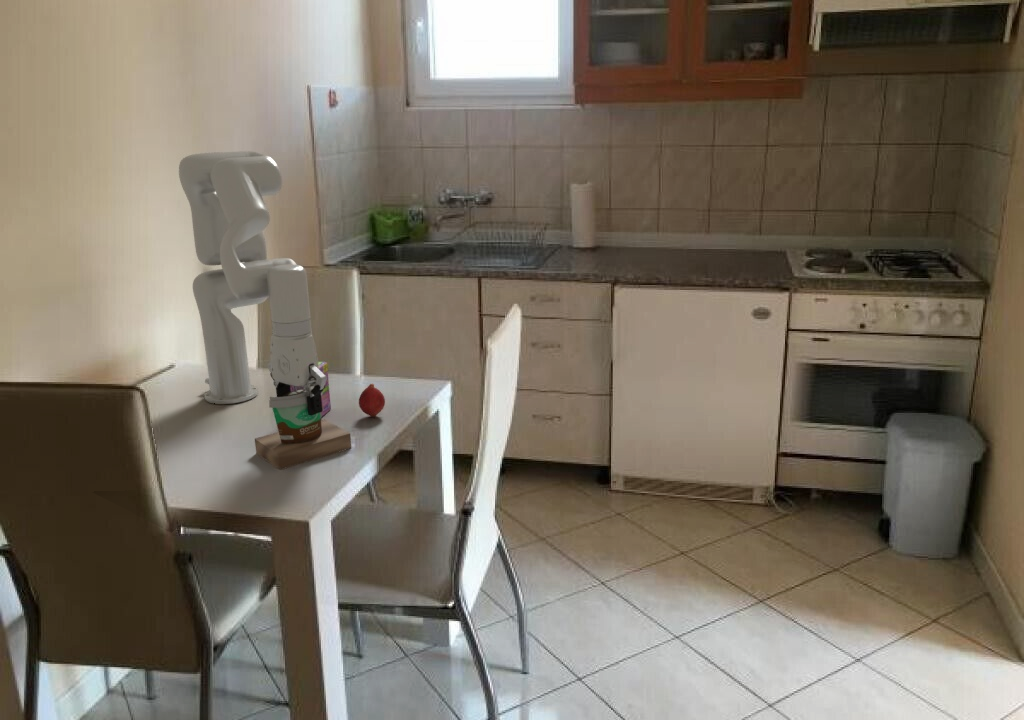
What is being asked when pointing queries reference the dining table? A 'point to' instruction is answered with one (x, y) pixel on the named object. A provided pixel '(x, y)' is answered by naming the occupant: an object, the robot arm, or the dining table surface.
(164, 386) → the dining table surface
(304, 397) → the food container
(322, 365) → the box
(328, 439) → the brown flat block
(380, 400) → the onion
